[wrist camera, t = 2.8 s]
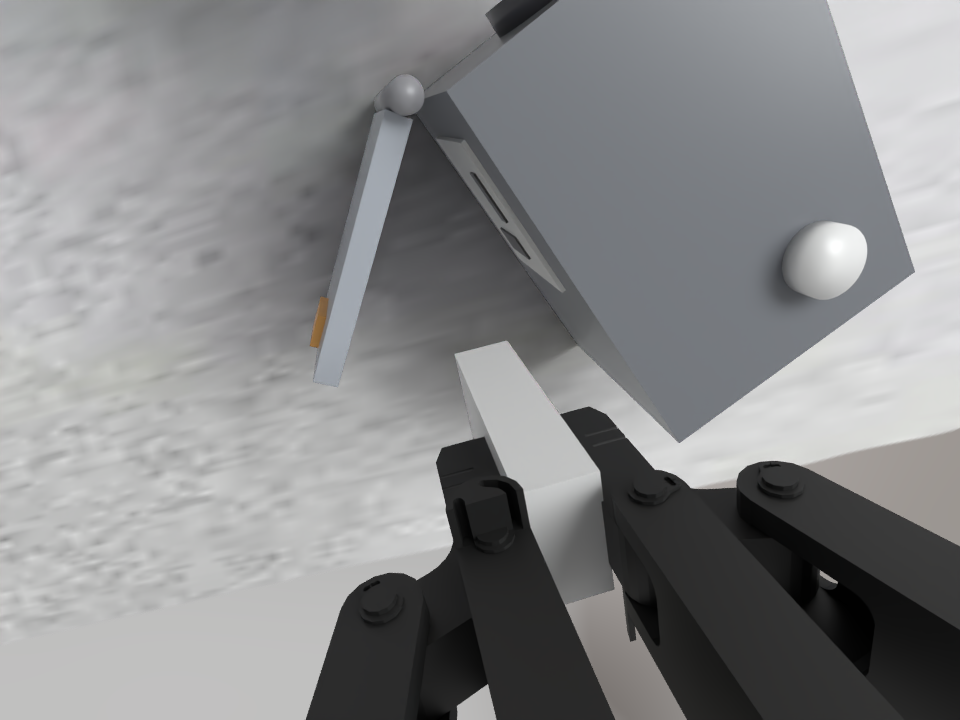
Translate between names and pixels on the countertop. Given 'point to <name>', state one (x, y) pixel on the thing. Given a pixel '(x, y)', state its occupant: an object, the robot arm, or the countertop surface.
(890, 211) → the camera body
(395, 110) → the side door
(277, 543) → the countertop surface
